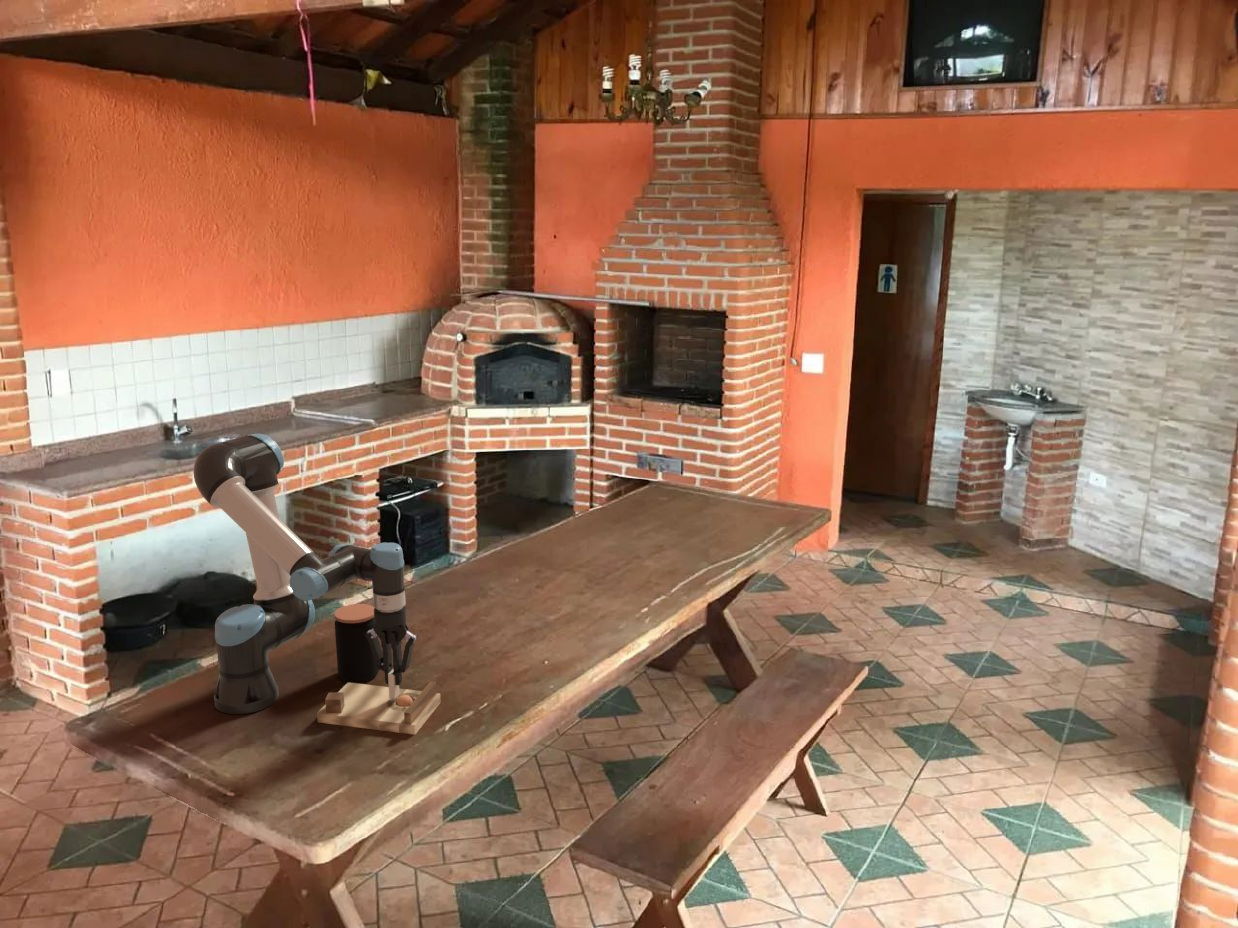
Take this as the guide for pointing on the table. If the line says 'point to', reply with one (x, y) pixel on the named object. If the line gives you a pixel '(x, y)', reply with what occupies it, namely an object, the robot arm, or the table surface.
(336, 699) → the walnut cube
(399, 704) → the ball
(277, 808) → the table surface
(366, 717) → the board
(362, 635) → the coffee jar
